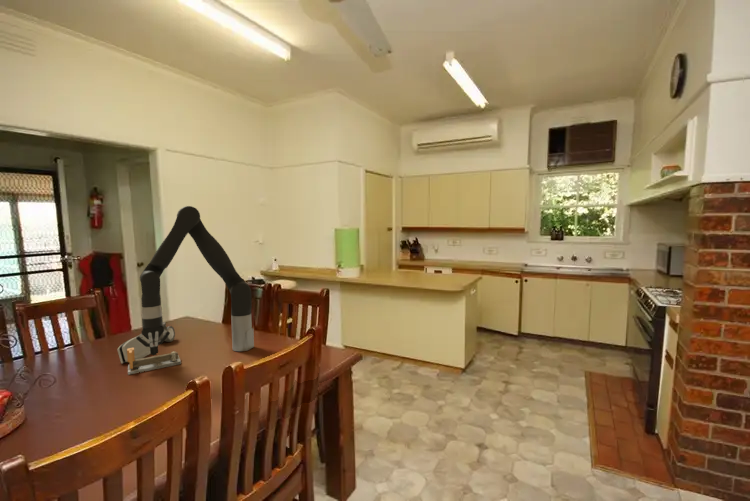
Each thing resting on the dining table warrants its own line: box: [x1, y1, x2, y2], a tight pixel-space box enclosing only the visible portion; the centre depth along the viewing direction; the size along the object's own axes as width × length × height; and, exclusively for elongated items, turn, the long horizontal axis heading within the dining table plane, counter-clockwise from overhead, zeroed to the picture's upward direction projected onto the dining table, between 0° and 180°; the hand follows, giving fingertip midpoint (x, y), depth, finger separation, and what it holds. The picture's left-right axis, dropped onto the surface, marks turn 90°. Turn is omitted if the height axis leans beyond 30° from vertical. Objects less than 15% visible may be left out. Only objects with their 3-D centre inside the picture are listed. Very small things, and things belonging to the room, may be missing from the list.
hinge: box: [116, 336, 152, 364], centre depth 161 cm, size 17×5×10 cm, turn 177°
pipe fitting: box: [152, 321, 176, 343], centre depth 182 cm, size 12×8×10 cm
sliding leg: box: [127, 348, 135, 369], centre depth 146 cm, size 2×7×7 cm, turn 35°
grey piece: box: [127, 351, 182, 376], centre depth 150 cm, size 19×9×5 cm, turn 125°
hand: (154, 354), depth 152 cm, fingers closed
